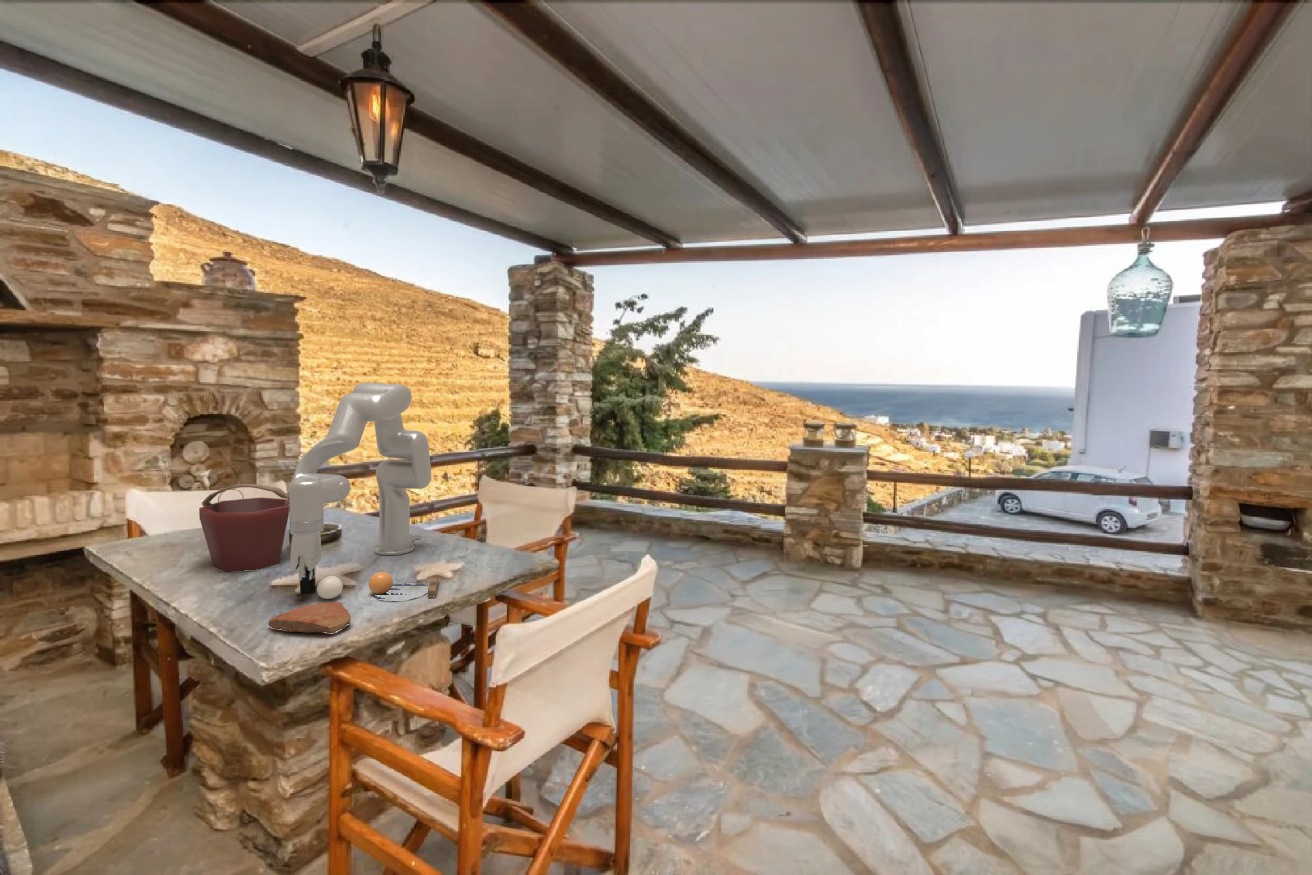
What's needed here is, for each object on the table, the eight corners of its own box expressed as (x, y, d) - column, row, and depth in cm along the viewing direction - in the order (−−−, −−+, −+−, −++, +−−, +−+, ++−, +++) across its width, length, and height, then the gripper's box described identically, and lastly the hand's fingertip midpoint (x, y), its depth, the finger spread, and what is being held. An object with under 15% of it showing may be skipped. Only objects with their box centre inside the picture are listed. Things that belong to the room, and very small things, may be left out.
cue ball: (328, 572, 149) (344, 587, 150) (308, 588, 145) (325, 604, 146) (334, 570, 145) (350, 586, 146) (314, 586, 141) (330, 603, 142)
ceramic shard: (287, 627, 118) (265, 616, 127) (293, 655, 118) (272, 642, 128) (358, 599, 129) (333, 591, 138) (363, 625, 130) (338, 615, 139)
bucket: (311, 556, 179) (310, 481, 176) (255, 579, 157) (253, 494, 154) (242, 550, 181) (240, 476, 179) (178, 572, 159) (175, 488, 157)
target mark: (407, 579, 161) (407, 579, 161) (440, 589, 155) (440, 588, 155) (362, 594, 149) (362, 594, 149) (397, 606, 143) (397, 605, 143)
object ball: (373, 572, 153) (392, 583, 155) (361, 590, 149) (381, 601, 151) (380, 564, 150) (400, 575, 152) (368, 582, 145) (388, 593, 147)
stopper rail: (431, 582, 160) (431, 576, 160) (438, 582, 160) (438, 575, 160) (427, 598, 148) (427, 591, 148) (435, 597, 149) (435, 590, 149)
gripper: (299, 519, 149) (300, 584, 151) (280, 533, 135) (281, 605, 137) (330, 518, 151) (331, 582, 153) (315, 532, 137) (315, 602, 139)
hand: (307, 592), depth 145 cm, fingers closed
